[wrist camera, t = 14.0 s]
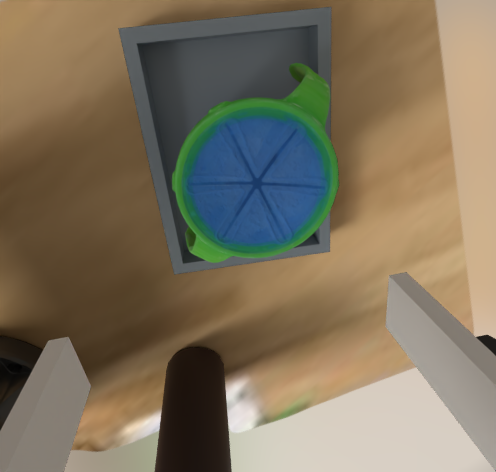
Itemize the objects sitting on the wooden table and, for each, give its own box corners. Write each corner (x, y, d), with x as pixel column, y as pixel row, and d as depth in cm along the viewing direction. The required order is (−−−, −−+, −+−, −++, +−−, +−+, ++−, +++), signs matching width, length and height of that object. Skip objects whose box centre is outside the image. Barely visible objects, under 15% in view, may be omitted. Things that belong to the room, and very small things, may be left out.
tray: (176, 258, 35) (174, 274, 33) (126, 32, 27) (118, 28, 24) (320, 238, 36) (329, 251, 34) (318, 12, 28) (331, 6, 25)
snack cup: (233, 246, 35) (244, 309, 26) (142, 184, 31) (117, 232, 22) (343, 119, 31) (403, 141, 22) (253, 30, 27) (280, 12, 18)
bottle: (176, 392, 44) (158, 619, 26) (159, 353, 41) (126, 578, 23) (229, 379, 44) (248, 596, 26) (216, 339, 41) (228, 553, 23)
